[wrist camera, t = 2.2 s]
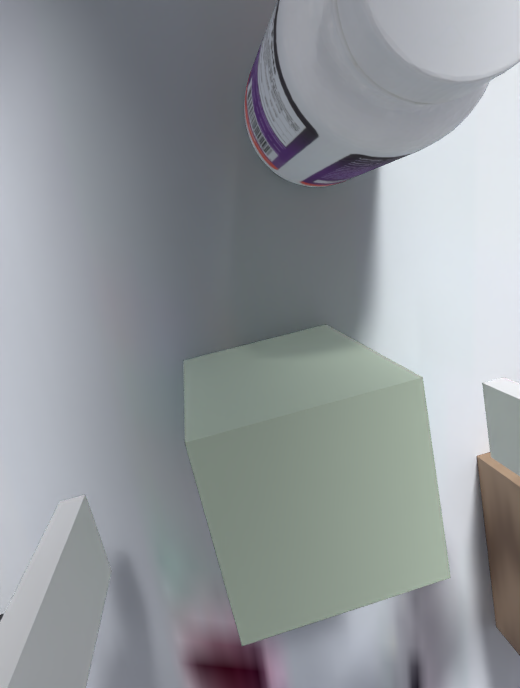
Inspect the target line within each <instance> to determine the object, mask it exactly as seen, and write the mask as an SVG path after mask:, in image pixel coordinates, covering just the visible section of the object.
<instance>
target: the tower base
mask: <svg viewBox="0 0 520 688" xmlns="http://www.w3.org/2000/svg"><path fill="white" fill-rule="evenodd" d="M477 462H478V471H479V480H480V489H481V497H482V506H483V515H484V524H485V532H486V541H487V550H488V559H489V568H490V576H491V585H492V594H493V603H494V612H495V620H496V627H497V628H498V630H499V631H500V632H501V633H502V634H503V636H504V637H505V638H506V639H507V640H508V642H509V643H510V644H511V645H512V647H513V648H514V649H515V650H516V651H517V653H518V654H519V655H520V476H518V475H517V474H515V473H514V472H512V471H511V470H509V469H508V468H506V467H505V466H503V465H502V464H500V463H499V462H497V461H496V460H494V459H493V458H491V454H490V452H489V453H485V454H482V455H479V456H477Z"/></svg>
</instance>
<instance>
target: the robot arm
mask: <svg viewBox="0 0 520 688" xmlns="http://www.w3.org/2000/svg"><path fill="white" fill-rule="evenodd" d="M482 385H483V393H484V402H485V411H486V419H487V428H488V437H489V445H490V454H491V458H493V459H494V460H496V461H497V462H499V463H500V464H502V465H503V466H505V467H506V468H508V469H509V470H511V471H512V472H514V473H515V474H517V475H518V476H520V383H517V382H515V381H512V380H509V379H507V378H504V377H501V378H498V379H494V380H491V381H487V382H484V383H482ZM111 572H112V570H111V567H110V565H109V562H108V559H107V556H106V553H105V550H104V547H103V544H102V541H101V538H100V535H99V533H98V530H97V527H96V524H95V521H94V518H93V515H92V512H91V509H90V506H89V503H88V501H87V498H86V495H85V494H84V495H81V496H77V497H74V498H70V499H67V500H63V501H60V502H59V504H58V506H57V508H56V510H55V512H54V514H53V516H52V518H51V520H50V522H49V524H48V526H47V528H46V530H45V532H44V534H43V536H42V538H41V540H40V542H39V544H38V546H37V548H36V550H35V552H34V554H33V556H32V558H31V560H30V562H29V564H28V566H27V568H26V570H25V572H24V575H23V577H22V579H21V581H20V583H19V585H18V587H17V589H16V591H15V593H14V595H13V597H12V599H11V601H10V603H9V605H8V607H7V609H6V611H5V613H4V614H1V615H0V688H86V685H87V680H88V676H89V671H90V667H91V662H92V658H93V653H94V649H95V644H96V640H97V635H98V631H99V626H100V622H101V617H102V613H103V608H104V604H105V599H106V595H107V590H108V586H109V581H110V577H111Z"/></svg>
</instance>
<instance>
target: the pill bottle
mask: <svg viewBox="0 0 520 688" xmlns="http://www.w3.org/2000/svg"><path fill="white" fill-rule="evenodd" d="M518 62H520V0H278V1H277V3H276V6H275V8H274V11H273V14H272V16H271V19H270V21H269V24H268V27H267V29H266V32H265V35H264V37H263V40H262V43H261V45H260V48H259V51H258V54H257V56H256V59H255V62H254V64H253V67H252V69H251V72H250V75H249V79H248V83H247V86H246V92H245V99H244V115H245V123H246V128H247V132H248V135H249V138H250V140H251V143H252V145H253V147H254V149H255V151H256V152H257V154H258V155H259V157H260V158H261V159H262V161H263V162H264V163H265V164H266V165H267V166H268V167H269V168H270V169H271V170H272V171H273V172H274V173H276V174H277V175H279V176H280V177H282V178H283V179H285V180H287V181H290V182H292V183H295V184H298V185H302V186H308V187H324V186H330V185H334V184H338V183H341V182H344V181H346V180H349V179H351V178H353V177H356V176H358V175H361V174H363V173H365V172H368V171H370V170H373V169H375V168H377V167H380V166H383V165H385V164H388V163H390V162H393V161H395V160H397V159H400V158H402V157H405V156H407V155H410V154H412V153H415V152H417V151H419V150H421V149H423V148H425V147H427V146H429V145H431V144H433V143H435V142H437V141H439V140H440V139H442V138H443V137H444V136H446V135H447V134H449V133H450V132H451V131H453V130H454V129H455V128H456V127H457V126H458V125H459V124H460V123H461V122H462V121H463V120H464V119H465V118H466V117H467V116H468V115H469V114H470V113H471V111H472V110H473V109H474V107H475V106H476V104H477V103H478V102H479V100H480V99H481V97H482V96H483V94H484V92H485V90H486V88H487V86H488V84H489V82H490V80H492V79H494V78H495V77H497V76H499V75H501V74H502V73H504V72H506V71H507V70H509V69H510V68H512V67H513V66H514V65H516V64H517V63H518Z"/></svg>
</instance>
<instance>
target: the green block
mask: <svg viewBox="0 0 520 688" xmlns="http://www.w3.org/2000/svg"><path fill="white" fill-rule="evenodd" d="M183 361H184V432H185V446H186V449H187V453H188V456H189V460H190V463H191V467H192V470H193V474H194V478H195V481H196V485H197V488H198V492H199V495H200V499H201V502H202V506H203V509H204V513H205V517H206V520H207V524H208V527H209V531H210V534H211V538H212V541H213V545H214V548H215V552H216V556H217V559H218V563H219V566H220V570H221V573H222V577H223V580H224V584H225V587H226V591H227V595H228V598H229V602H230V605H231V609H232V612H233V616H234V619H235V623H236V626H237V630H238V634H239V637H240V641H241V644H242V646H244V645H247V644H251V643H254V642H257V641H260V640H263V639H266V638H269V637H272V636H275V635H278V634H281V633H284V632H287V631H290V630H293V629H296V628H299V627H302V626H305V625H308V624H311V623H315V622H318V621H321V620H324V619H327V618H330V617H333V616H336V615H339V614H342V613H345V612H348V611H351V610H354V609H357V608H360V607H363V606H366V605H369V604H372V603H375V602H379V601H382V600H385V599H388V598H391V597H394V596H397V595H400V594H403V593H406V592H409V591H412V590H415V589H418V588H421V587H424V586H427V585H430V584H433V583H436V582H439V581H443V580H446V579H449V578H451V577H450V570H449V563H448V556H447V549H446V541H445V534H444V527H443V520H442V513H441V506H440V498H439V491H438V484H437V477H436V470H435V463H434V455H433V448H432V441H431V434H430V427H429V420H428V412H427V405H426V398H425V391H424V384H423V377H421V376H419V375H417V374H415V373H414V372H412V371H410V370H408V369H406V368H405V367H403V366H401V365H399V364H397V363H395V362H394V361H392V360H390V359H388V358H386V357H385V356H383V355H381V354H379V353H377V352H375V351H374V350H372V349H370V348H368V347H366V346H365V345H363V344H361V343H359V342H357V341H355V340H354V339H352V338H350V337H348V336H346V335H344V334H343V333H341V332H339V331H337V330H335V329H334V328H332V327H330V326H328V325H326V324H325V325H321V326H317V327H313V328H309V329H305V330H301V331H297V332H293V333H289V334H285V335H281V336H278V337H274V338H270V339H266V340H262V341H258V342H254V343H250V344H246V345H242V346H238V347H234V348H230V349H226V350H222V351H218V352H215V353H211V354H207V355H203V356H199V357H195V358H191V359H187V360H183Z"/></svg>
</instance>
